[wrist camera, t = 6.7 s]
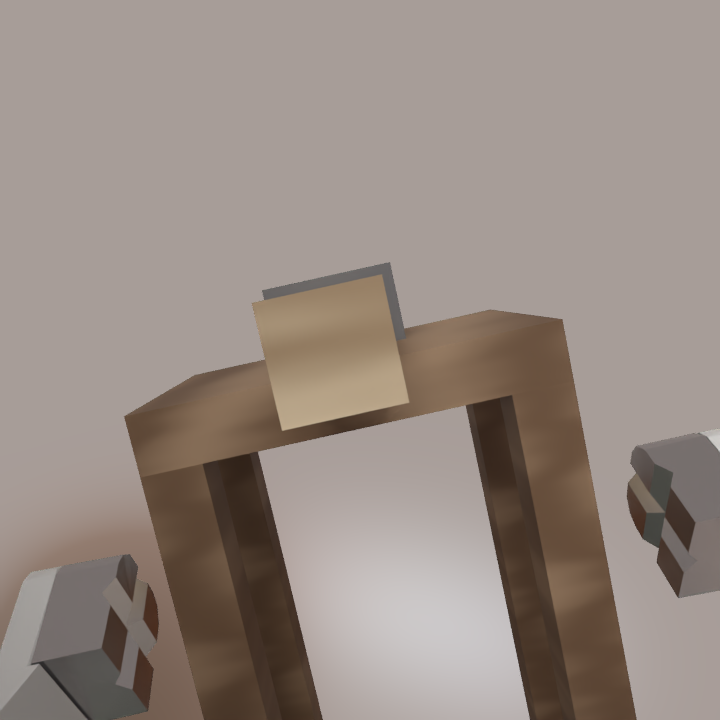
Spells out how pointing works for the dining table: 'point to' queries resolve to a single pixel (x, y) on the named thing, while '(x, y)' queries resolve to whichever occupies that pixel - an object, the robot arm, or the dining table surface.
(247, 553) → the plant stand
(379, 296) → the mallet
